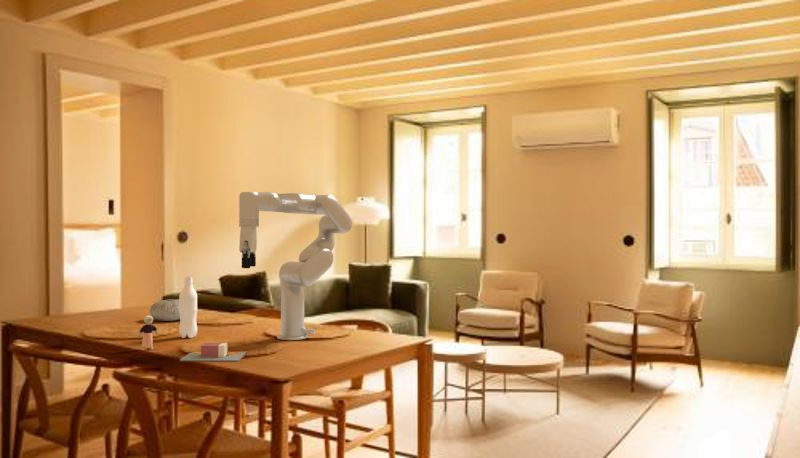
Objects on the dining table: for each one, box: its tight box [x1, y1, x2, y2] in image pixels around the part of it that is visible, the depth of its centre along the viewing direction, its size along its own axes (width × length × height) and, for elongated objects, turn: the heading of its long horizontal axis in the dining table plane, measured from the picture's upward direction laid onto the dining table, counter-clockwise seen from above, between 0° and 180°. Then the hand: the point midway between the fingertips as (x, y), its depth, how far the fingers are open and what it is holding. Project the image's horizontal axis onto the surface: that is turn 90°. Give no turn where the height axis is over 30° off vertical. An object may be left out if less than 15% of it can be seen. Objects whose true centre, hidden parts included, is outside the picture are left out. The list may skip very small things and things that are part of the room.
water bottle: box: [178, 276, 198, 339], centre depth 266 cm, size 7×7×25 cm
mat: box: [179, 351, 247, 363], centre depth 228 cm, size 20×14×1 cm
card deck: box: [200, 342, 228, 357], centre depth 228 cm, size 5×8×4 cm, turn 91°
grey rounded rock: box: [149, 298, 180, 322], centre depth 310 cm, size 18×18×10 cm
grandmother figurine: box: [137, 314, 159, 351], centre depth 241 cm, size 8×4×13 cm, turn 148°
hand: (248, 267), depth 251 cm, fingers open, 9 cm apart
